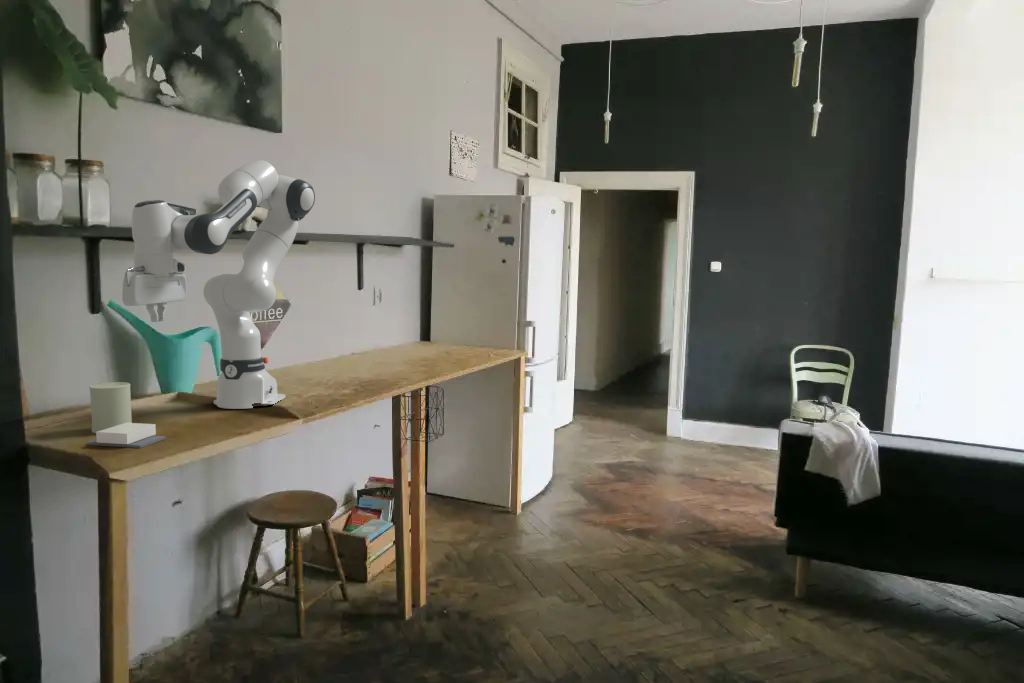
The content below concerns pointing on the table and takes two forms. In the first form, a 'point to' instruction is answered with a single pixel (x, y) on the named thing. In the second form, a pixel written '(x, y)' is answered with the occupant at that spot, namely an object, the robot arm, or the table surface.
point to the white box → (126, 433)
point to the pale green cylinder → (110, 405)
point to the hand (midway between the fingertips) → (157, 321)
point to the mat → (136, 444)
